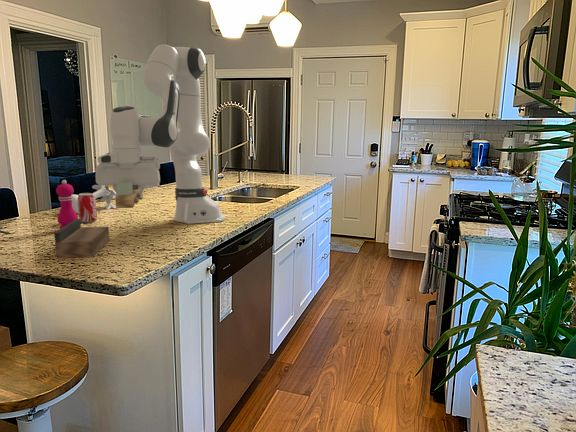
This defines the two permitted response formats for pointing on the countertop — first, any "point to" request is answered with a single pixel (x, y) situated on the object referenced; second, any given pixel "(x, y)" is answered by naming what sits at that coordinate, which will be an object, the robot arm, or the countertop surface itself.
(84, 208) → the soda can
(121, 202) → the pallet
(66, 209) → the pepper mill
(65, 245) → the block
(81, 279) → the countertop surface
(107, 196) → the flower vase
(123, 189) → the block
